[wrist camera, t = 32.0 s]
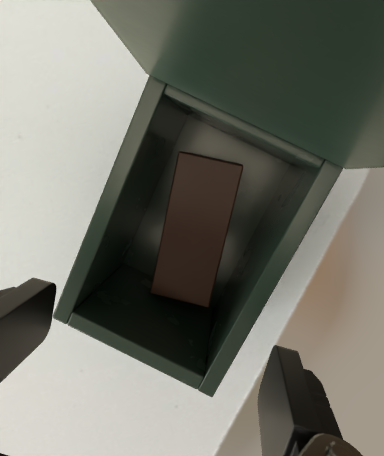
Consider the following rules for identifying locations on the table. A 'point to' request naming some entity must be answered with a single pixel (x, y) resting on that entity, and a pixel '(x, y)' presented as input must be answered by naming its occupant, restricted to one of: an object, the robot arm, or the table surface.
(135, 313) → the green storage bin
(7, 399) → the table surface
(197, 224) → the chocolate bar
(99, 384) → the table surface
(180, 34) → the bin lid
